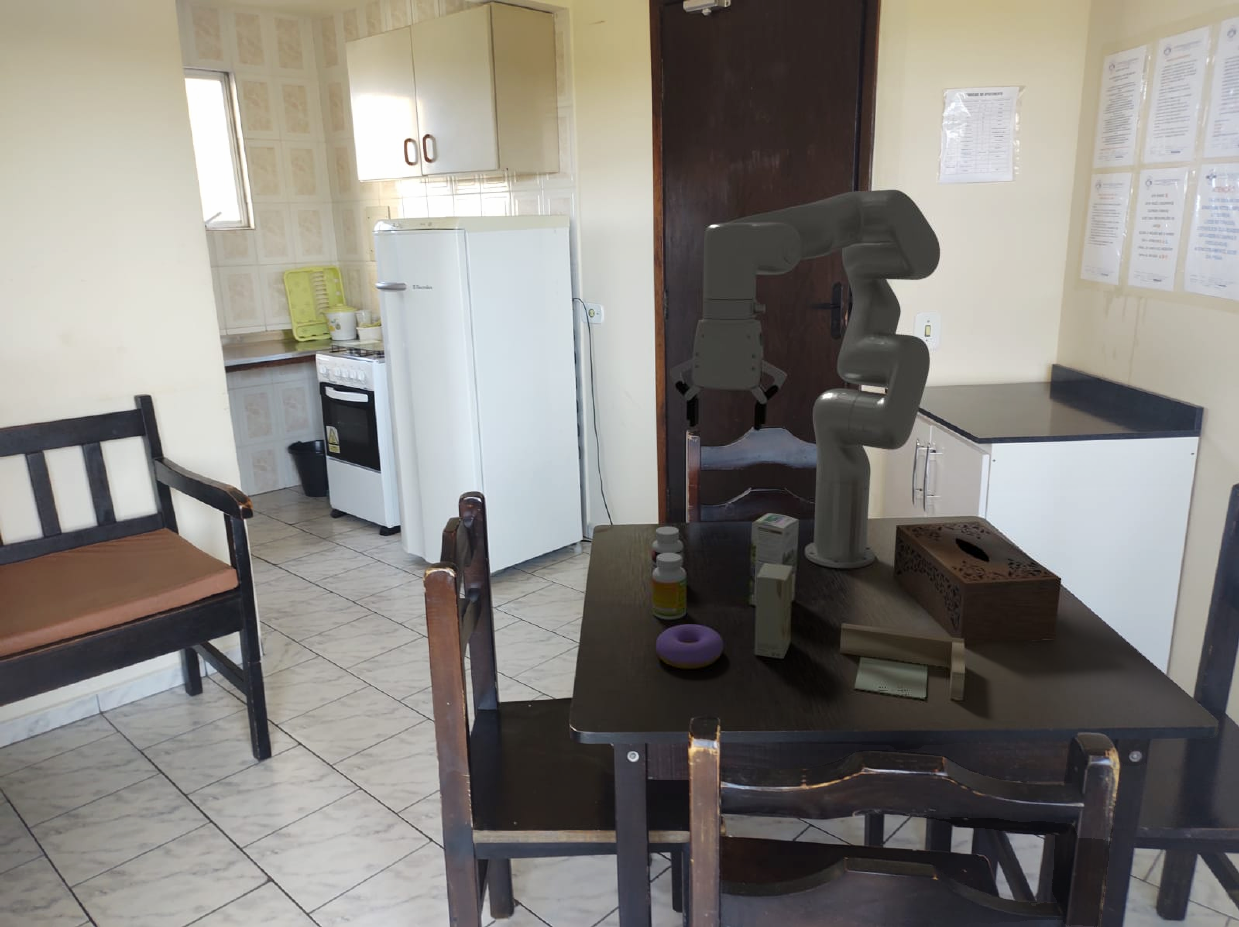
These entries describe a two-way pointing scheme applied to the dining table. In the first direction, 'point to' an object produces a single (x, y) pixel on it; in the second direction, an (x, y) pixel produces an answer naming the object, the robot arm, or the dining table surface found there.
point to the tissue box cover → (976, 583)
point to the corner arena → (902, 659)
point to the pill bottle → (666, 544)
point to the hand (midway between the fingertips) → (725, 426)
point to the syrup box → (773, 547)
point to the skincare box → (773, 610)
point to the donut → (689, 646)
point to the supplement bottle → (669, 587)
